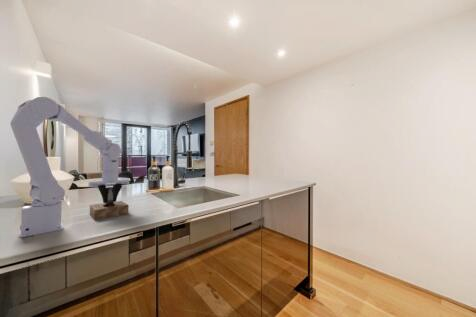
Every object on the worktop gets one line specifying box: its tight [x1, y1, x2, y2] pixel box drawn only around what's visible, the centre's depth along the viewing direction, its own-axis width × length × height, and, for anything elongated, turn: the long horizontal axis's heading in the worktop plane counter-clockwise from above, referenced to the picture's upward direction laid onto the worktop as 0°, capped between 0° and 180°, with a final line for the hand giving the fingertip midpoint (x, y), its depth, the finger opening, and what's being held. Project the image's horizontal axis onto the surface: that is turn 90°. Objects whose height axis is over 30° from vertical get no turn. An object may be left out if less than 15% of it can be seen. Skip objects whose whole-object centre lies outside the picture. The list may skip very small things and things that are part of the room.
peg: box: [105, 186, 114, 207], centre depth 80 cm, size 3×3×9 cm
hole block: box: [89, 200, 129, 221], centre depth 80 cm, size 12×10×4 cm
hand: (109, 201), depth 80 cm, fingers closed on peg, 3 cm apart
